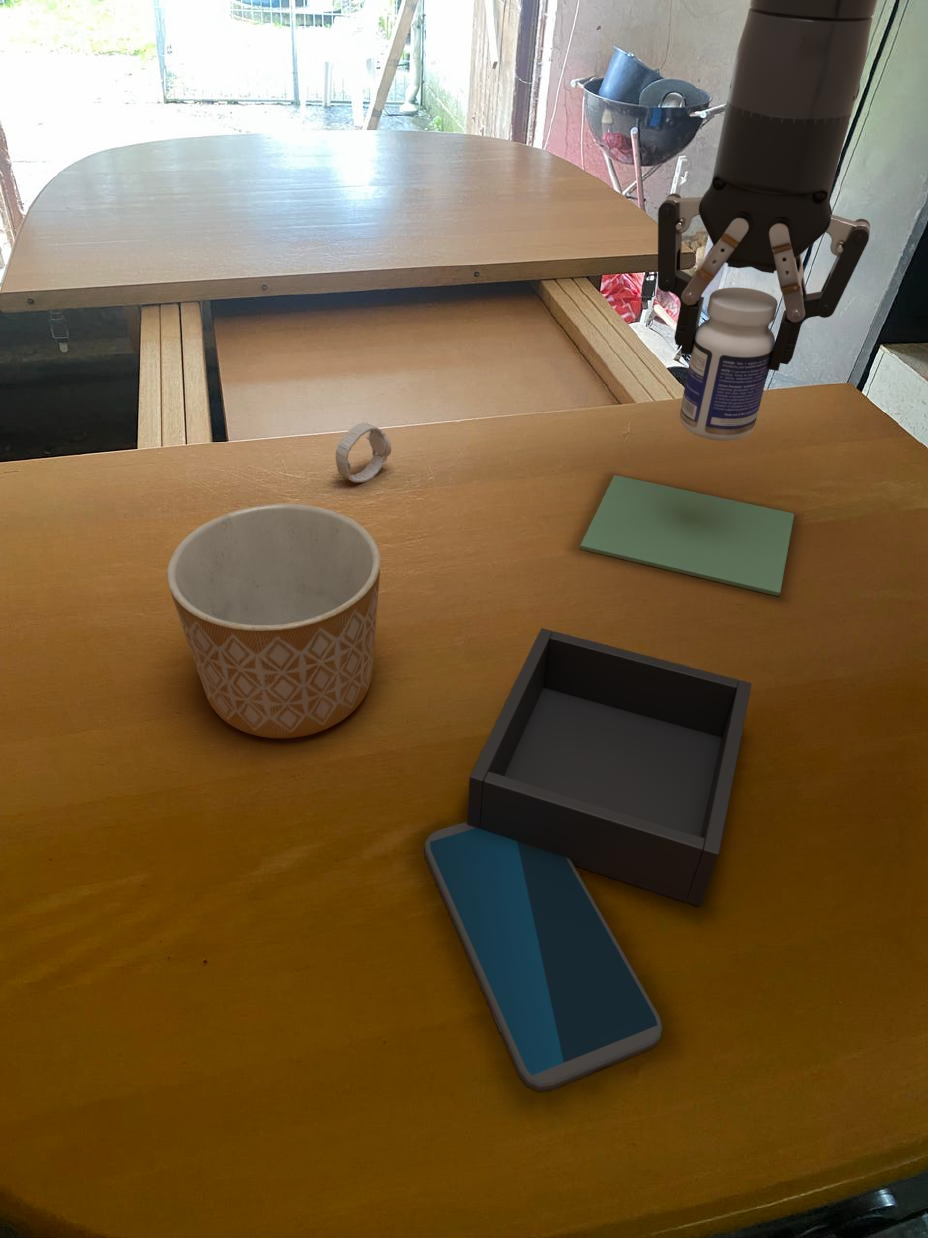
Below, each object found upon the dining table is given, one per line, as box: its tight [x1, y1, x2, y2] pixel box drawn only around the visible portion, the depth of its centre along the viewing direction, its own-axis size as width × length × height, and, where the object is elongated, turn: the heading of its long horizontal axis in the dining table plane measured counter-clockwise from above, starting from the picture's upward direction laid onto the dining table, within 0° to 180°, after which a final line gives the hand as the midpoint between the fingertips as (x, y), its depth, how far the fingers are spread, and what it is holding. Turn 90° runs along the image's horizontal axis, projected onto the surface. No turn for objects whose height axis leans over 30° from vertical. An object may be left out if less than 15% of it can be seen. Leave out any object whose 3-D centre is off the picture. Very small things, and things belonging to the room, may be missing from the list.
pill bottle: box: [679, 287, 778, 442], centre depth 68 cm, size 6×6×10 cm
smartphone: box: [424, 821, 664, 1092], centre depth 48 cm, size 8×15×1 cm, turn 22°
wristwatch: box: [335, 422, 392, 483], centre depth 81 cm, size 3×5×5 cm, turn 139°
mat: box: [579, 474, 795, 597], centre depth 77 cm, size 16×12×1 cm
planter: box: [166, 503, 382, 739], centre depth 59 cm, size 13×13×10 cm
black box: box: [466, 627, 753, 908], centre depth 55 cm, size 14×14×5 cm
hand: (730, 357), depth 67 cm, fingers closed on pill bottle, 5 cm apart
